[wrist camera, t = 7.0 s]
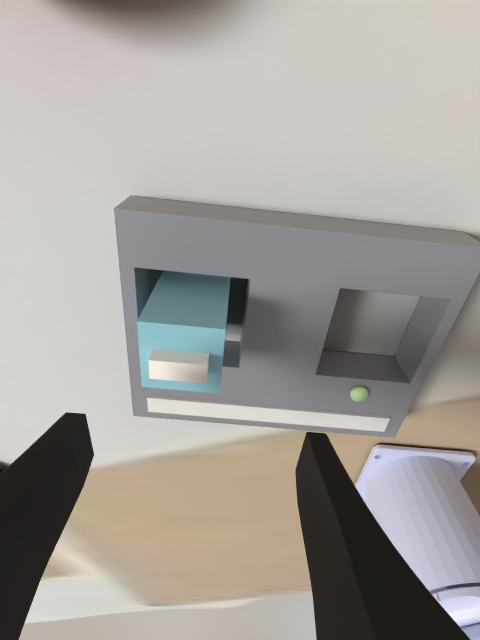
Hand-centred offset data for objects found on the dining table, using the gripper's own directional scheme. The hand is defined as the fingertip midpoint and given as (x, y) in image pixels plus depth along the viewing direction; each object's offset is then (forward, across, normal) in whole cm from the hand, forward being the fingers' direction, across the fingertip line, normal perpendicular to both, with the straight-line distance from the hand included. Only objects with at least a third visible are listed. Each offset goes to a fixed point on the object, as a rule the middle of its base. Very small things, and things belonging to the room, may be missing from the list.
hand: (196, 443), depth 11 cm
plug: (+10, +1, 0) cm, 10 cm away
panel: (+10, -4, +1) cm, 11 cm away
